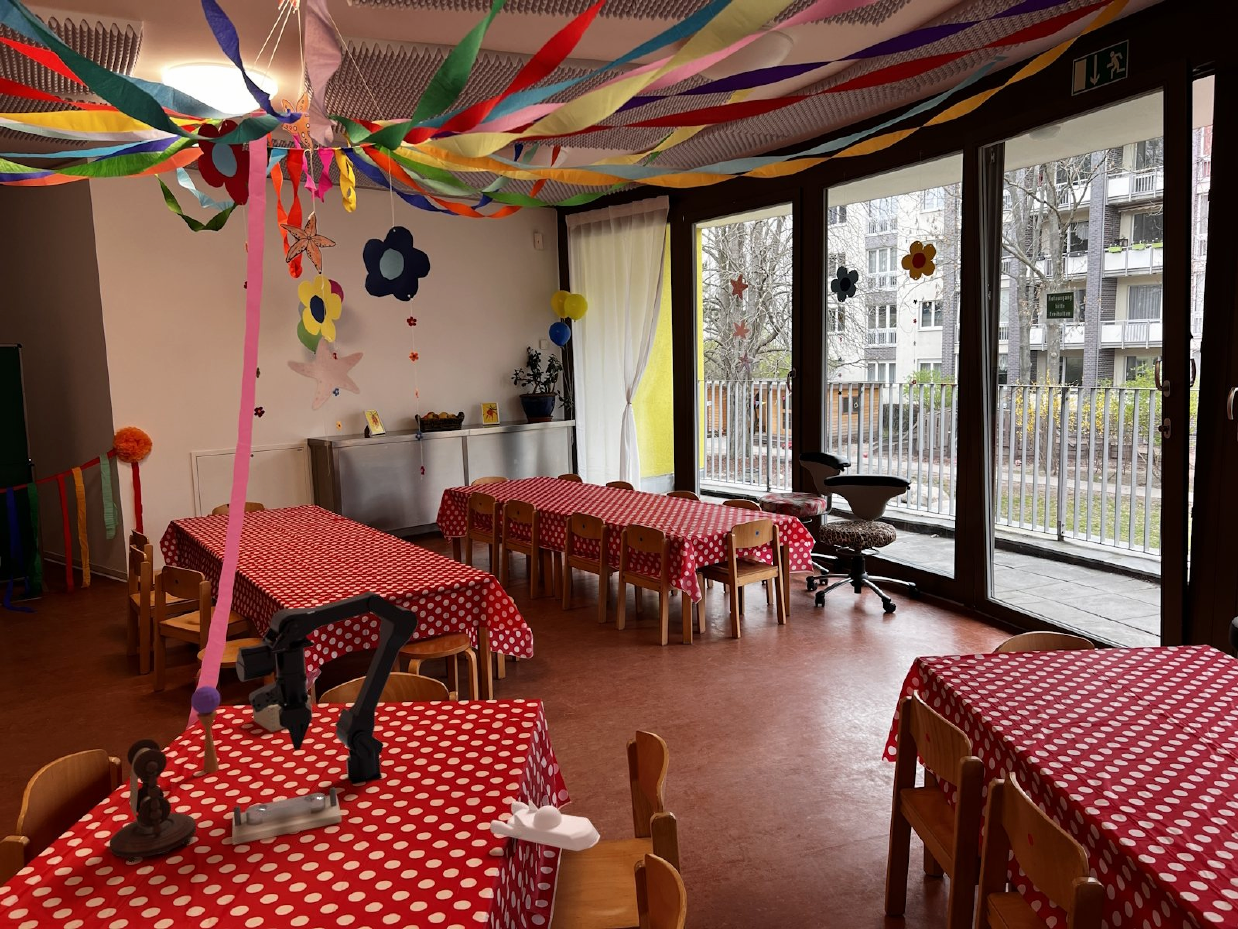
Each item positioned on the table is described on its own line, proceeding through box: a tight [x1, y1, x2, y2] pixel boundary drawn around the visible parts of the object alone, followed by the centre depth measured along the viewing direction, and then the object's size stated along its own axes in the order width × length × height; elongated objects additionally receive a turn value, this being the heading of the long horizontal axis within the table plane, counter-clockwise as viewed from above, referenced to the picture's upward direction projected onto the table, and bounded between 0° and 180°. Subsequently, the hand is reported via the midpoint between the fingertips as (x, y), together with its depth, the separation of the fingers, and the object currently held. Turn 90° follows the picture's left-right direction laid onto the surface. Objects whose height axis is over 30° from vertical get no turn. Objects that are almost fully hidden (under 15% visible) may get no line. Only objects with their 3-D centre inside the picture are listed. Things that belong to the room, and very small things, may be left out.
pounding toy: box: [252, 694, 314, 733], centre depth 236 cm, size 18×17×8 cm
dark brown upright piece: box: [109, 738, 197, 863], centre depth 171 cm, size 15×15×20 cm
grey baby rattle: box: [245, 792, 326, 826], centre depth 179 cm, size 15×4×2 cm, turn 113°
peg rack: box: [231, 787, 342, 845], centre depth 179 cm, size 20×10×5 cm, turn 113°
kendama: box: [190, 685, 221, 773], centre depth 203 cm, size 6×6×20 cm
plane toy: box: [489, 800, 601, 852], centre depth 171 cm, size 10×20×6 cm, turn 68°
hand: (296, 741), depth 190 cm, fingers open, 9 cm apart
